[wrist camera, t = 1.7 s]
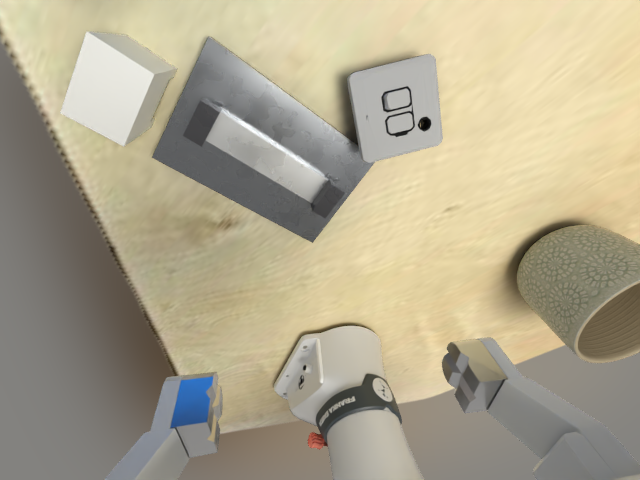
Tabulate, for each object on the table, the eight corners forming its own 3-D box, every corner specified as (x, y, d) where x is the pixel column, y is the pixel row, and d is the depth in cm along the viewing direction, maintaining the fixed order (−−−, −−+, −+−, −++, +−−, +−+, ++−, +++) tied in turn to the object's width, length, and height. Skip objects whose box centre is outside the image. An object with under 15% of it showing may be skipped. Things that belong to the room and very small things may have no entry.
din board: (311, 237, 45) (315, 254, 41) (156, 153, 36) (143, 165, 33) (373, 156, 40) (384, 167, 37) (211, 36, 31) (203, 35, 28)
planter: (484, 287, 56) (549, 360, 43) (541, 203, 48) (642, 260, 35) (555, 298, 61) (634, 366, 48) (618, 222, 53) (733, 279, 40)
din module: (148, 133, 35) (120, 153, 28) (99, 106, 33) (57, 121, 26) (177, 68, 32) (154, 74, 26) (126, 34, 30) (86, 31, 24)
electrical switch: (445, 144, 35) (371, 165, 33) (418, 144, 40) (352, 163, 38) (438, 50, 32) (355, 68, 30) (409, 62, 37) (336, 78, 35)
